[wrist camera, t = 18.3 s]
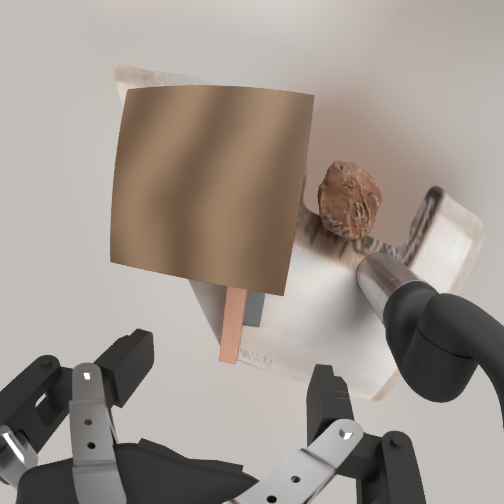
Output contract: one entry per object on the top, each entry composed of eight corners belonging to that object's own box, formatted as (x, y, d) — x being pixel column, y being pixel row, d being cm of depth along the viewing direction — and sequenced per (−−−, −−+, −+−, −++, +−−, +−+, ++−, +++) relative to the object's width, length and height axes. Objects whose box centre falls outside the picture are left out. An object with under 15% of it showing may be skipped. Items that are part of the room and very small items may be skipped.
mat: (273, 241, 52) (273, 241, 52) (259, 325, 57) (259, 326, 56) (239, 235, 53) (239, 236, 52) (229, 319, 57) (228, 320, 57)
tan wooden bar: (251, 260, 53) (249, 266, 50) (238, 355, 59) (235, 364, 55) (233, 257, 54) (230, 262, 50) (222, 352, 59) (219, 360, 56)
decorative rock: (319, 158, 48) (327, 152, 38) (377, 171, 47) (396, 168, 37) (308, 228, 51) (313, 238, 41) (365, 238, 50) (381, 250, 40)
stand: (298, 151, 48) (314, 95, 17) (286, 228, 52) (283, 296, 20) (220, 141, 49) (127, 89, 18) (210, 217, 53) (110, 261, 22)
